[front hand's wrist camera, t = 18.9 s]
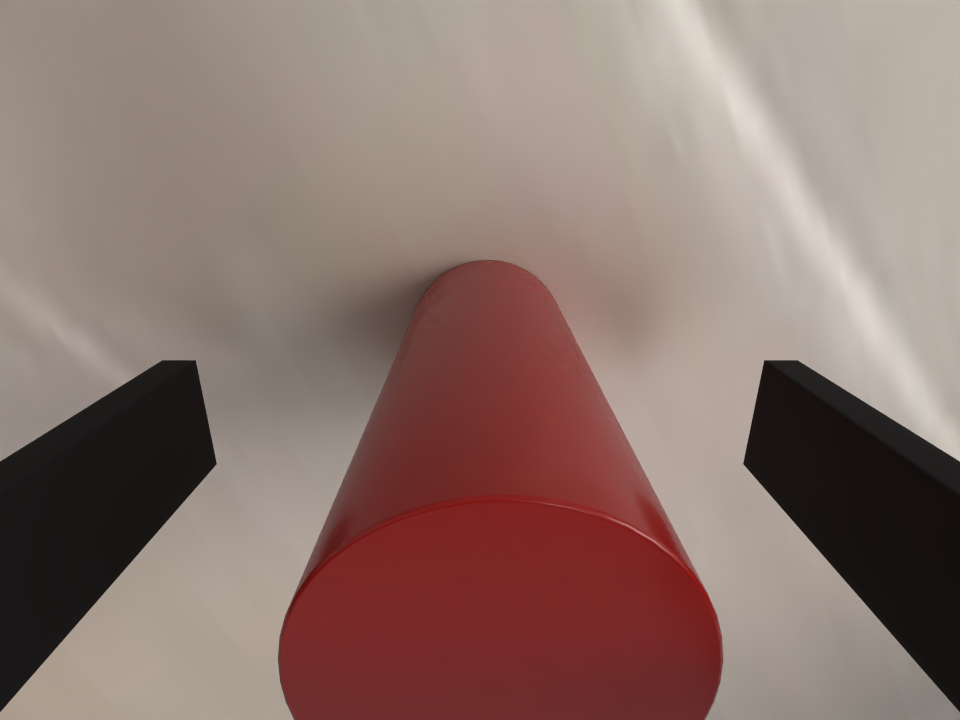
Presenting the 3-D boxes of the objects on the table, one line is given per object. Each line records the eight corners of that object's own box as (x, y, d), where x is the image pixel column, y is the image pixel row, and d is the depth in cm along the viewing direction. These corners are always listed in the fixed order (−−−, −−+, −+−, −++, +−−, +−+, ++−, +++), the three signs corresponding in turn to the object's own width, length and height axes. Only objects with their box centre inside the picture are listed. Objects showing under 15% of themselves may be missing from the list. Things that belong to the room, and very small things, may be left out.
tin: (383, 347, 18) (197, 712, 6) (472, 227, 16) (452, 401, 5) (499, 427, 19) (530, 865, 7) (593, 321, 17) (821, 653, 6)
